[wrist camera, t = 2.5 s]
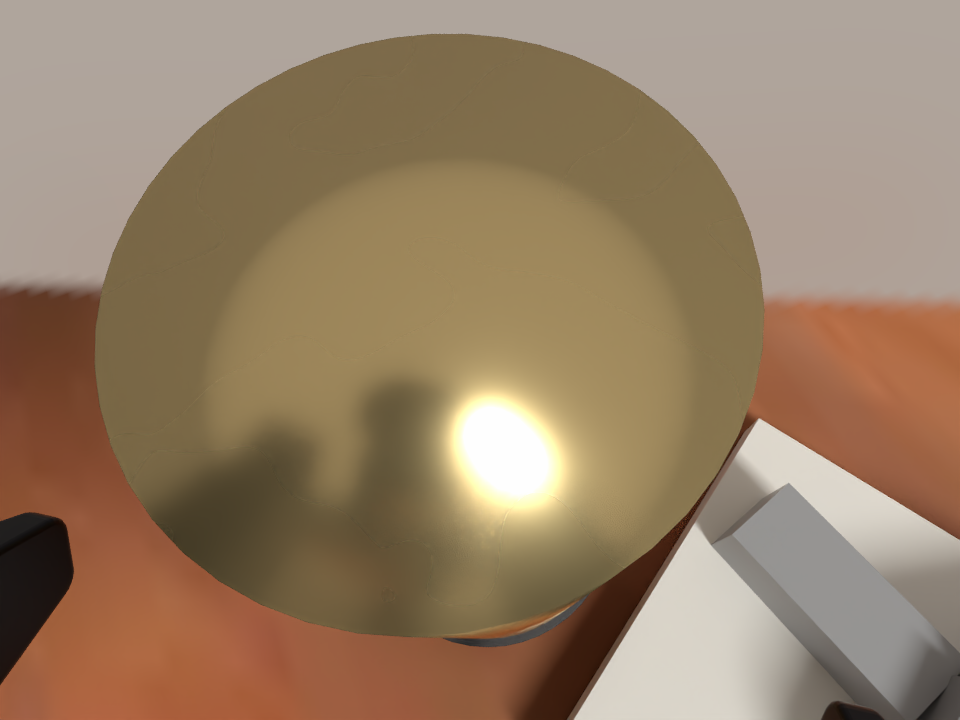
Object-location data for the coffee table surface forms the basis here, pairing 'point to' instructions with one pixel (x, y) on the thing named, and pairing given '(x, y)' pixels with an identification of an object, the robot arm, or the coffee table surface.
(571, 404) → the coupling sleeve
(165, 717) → the coffee table surface
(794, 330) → the coffee table surface
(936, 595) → the coupling stand
